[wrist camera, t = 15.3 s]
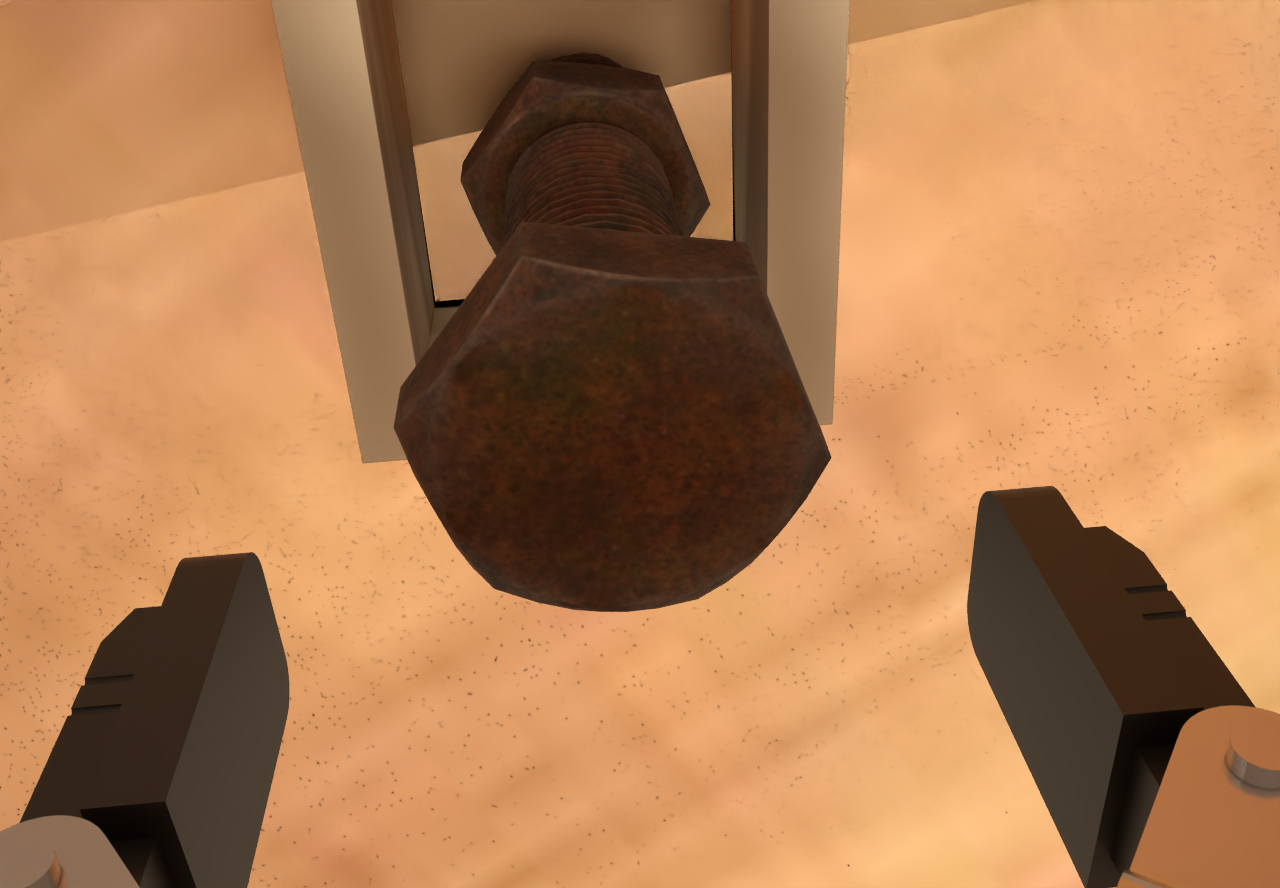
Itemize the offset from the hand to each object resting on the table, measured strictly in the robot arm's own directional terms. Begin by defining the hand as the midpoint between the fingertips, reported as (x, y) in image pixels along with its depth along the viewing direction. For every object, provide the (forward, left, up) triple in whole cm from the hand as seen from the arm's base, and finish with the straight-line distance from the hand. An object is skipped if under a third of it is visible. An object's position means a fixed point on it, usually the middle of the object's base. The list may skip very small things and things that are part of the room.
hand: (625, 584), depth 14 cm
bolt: (0, 0, -18) cm, 18 cm away
